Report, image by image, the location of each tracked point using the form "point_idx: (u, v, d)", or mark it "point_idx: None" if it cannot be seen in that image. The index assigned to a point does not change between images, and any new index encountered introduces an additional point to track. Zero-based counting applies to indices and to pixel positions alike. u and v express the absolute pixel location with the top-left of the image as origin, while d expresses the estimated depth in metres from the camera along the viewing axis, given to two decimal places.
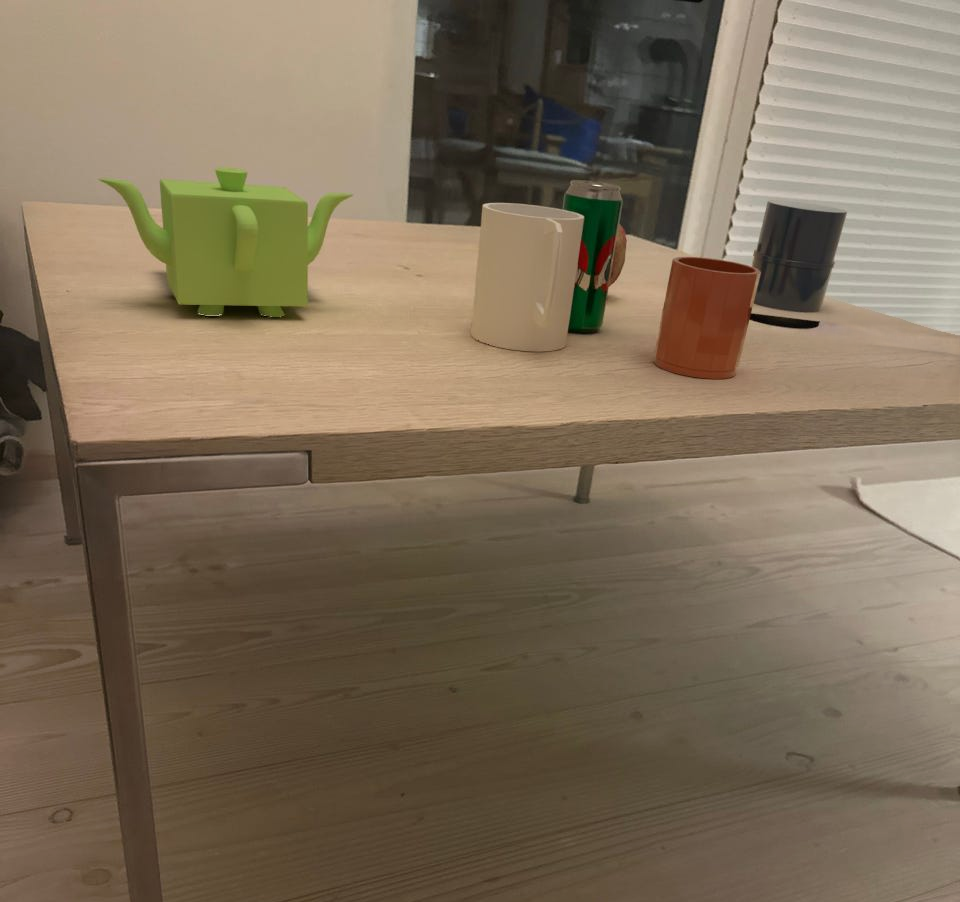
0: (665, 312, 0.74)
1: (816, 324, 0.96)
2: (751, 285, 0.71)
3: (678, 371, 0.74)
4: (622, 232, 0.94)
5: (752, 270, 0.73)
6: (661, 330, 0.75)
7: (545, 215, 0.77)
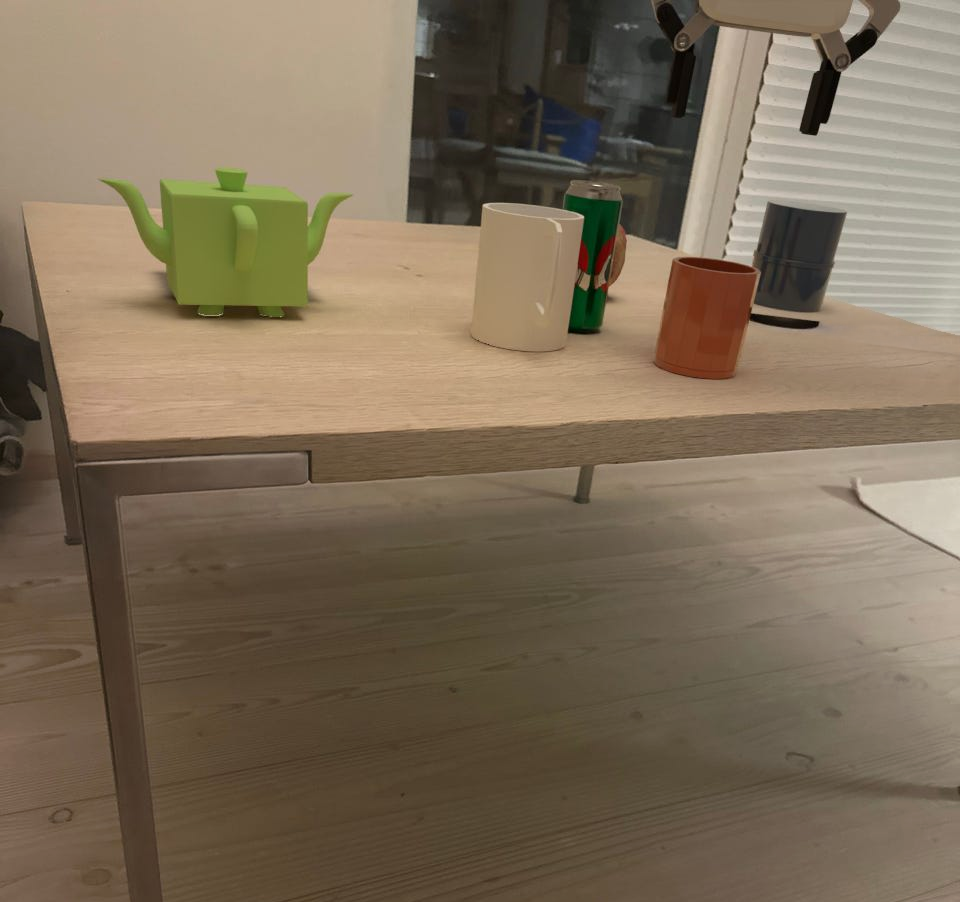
0: (665, 312, 0.74)
1: (816, 324, 0.96)
2: (751, 285, 0.71)
3: (678, 371, 0.74)
4: (622, 232, 0.94)
5: (752, 270, 0.73)
6: (661, 330, 0.75)
7: (545, 215, 0.77)
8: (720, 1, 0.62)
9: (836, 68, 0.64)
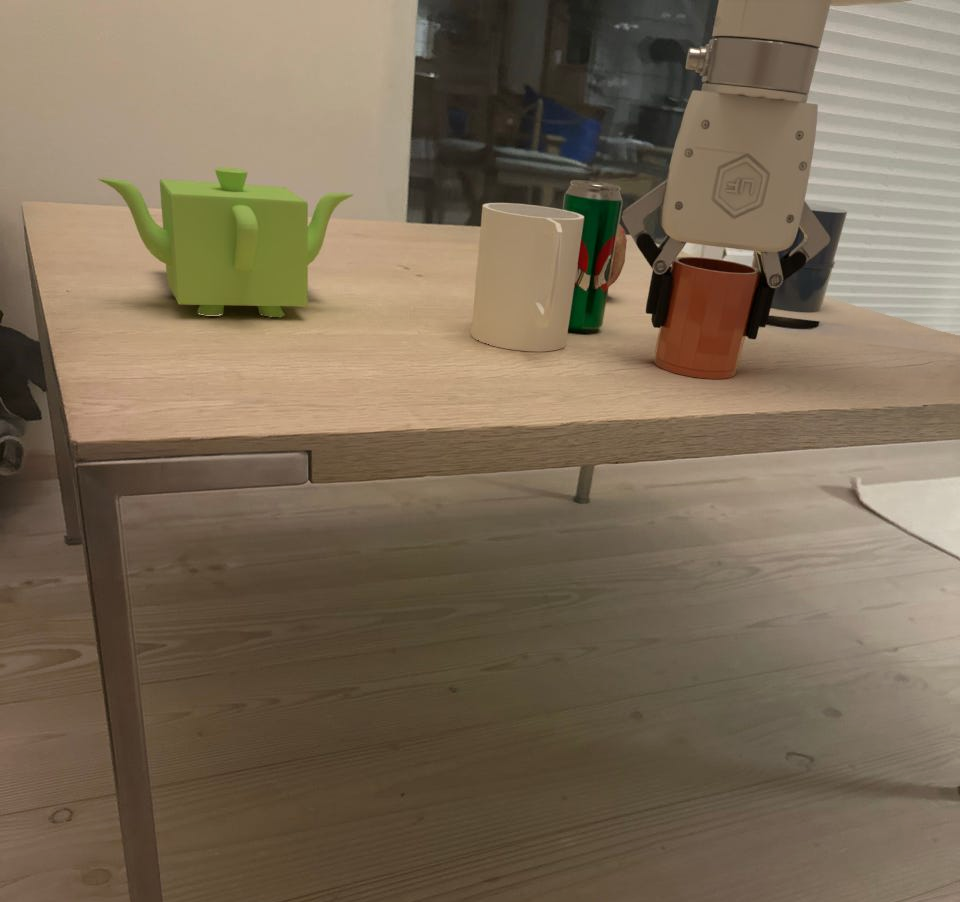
0: None
1: (816, 324, 0.96)
2: (751, 285, 0.71)
3: (678, 371, 0.74)
4: (622, 232, 0.94)
5: (752, 270, 0.73)
6: (661, 330, 0.75)
7: (545, 215, 0.77)
8: (680, 226, 0.69)
9: (770, 285, 0.72)
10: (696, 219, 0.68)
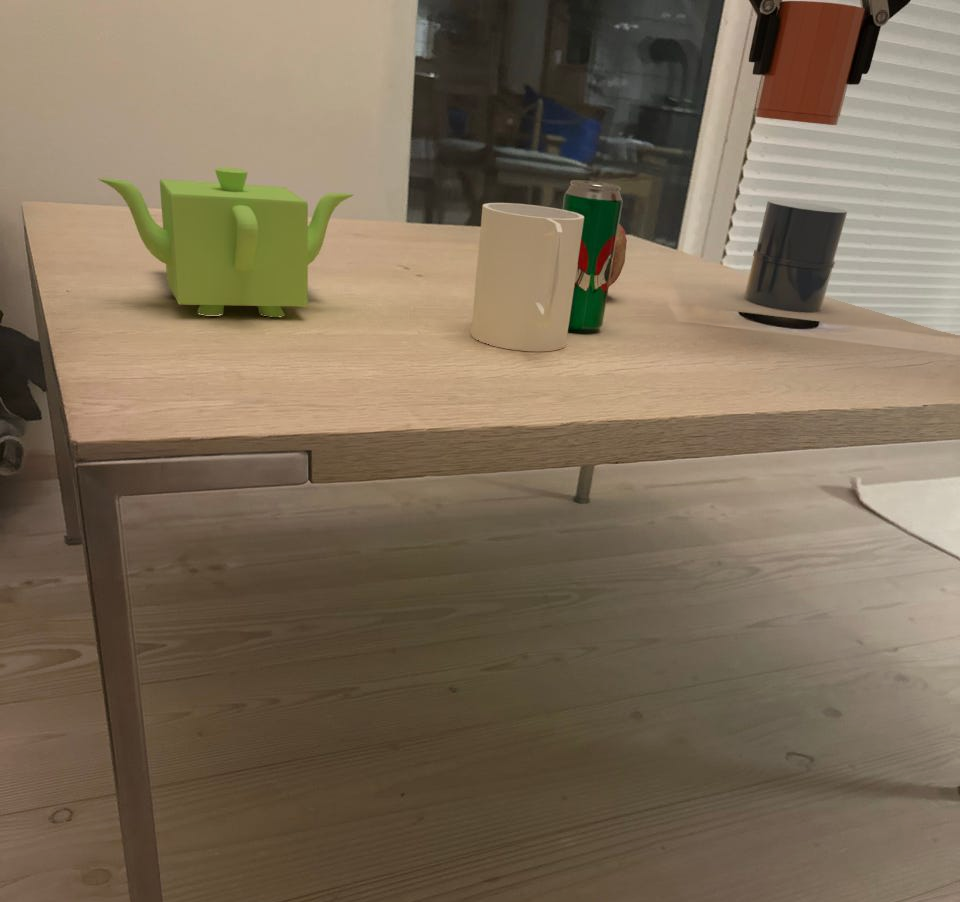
0: None
1: (816, 324, 0.96)
2: (858, 20, 0.72)
3: (783, 117, 0.75)
4: (622, 232, 0.94)
5: None
6: (765, 79, 0.76)
7: (545, 215, 0.77)
8: None
9: (876, 23, 0.73)
10: None
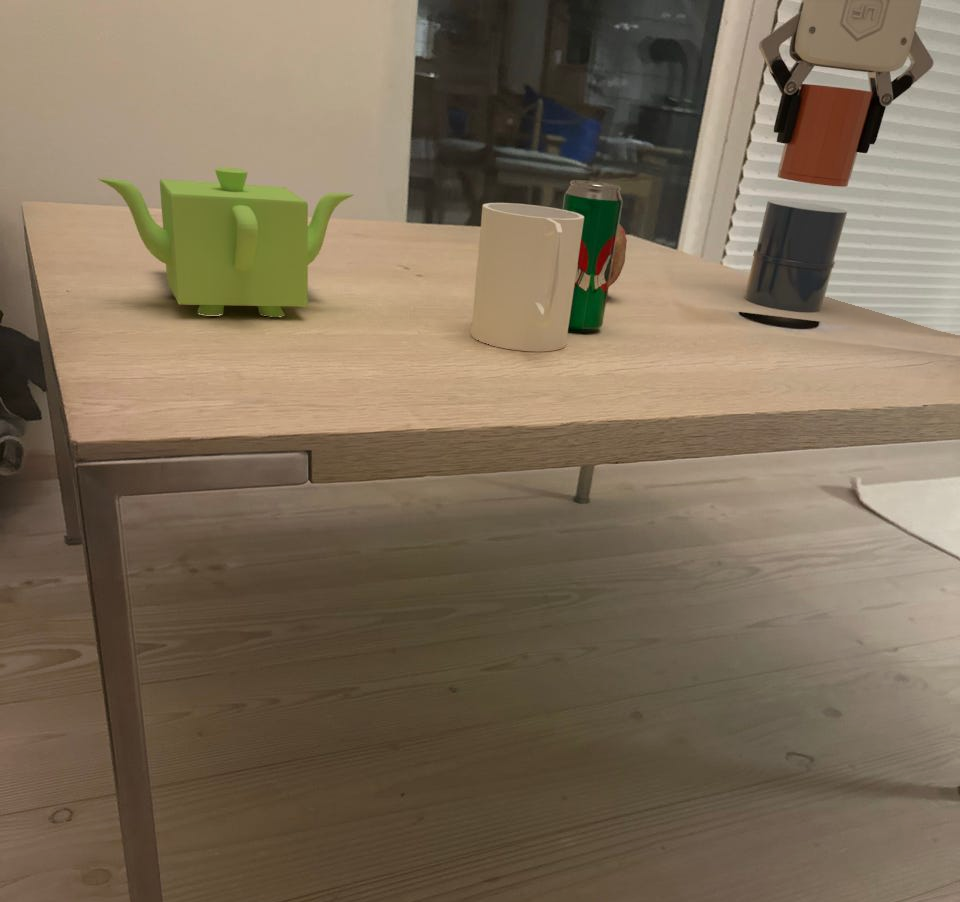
0: None
1: (816, 324, 0.96)
2: (867, 102, 0.86)
3: (802, 179, 0.89)
4: (622, 232, 0.94)
5: None
6: (787, 146, 0.89)
7: (545, 215, 0.77)
8: (812, 48, 0.84)
9: (882, 104, 0.87)
10: (826, 42, 0.83)
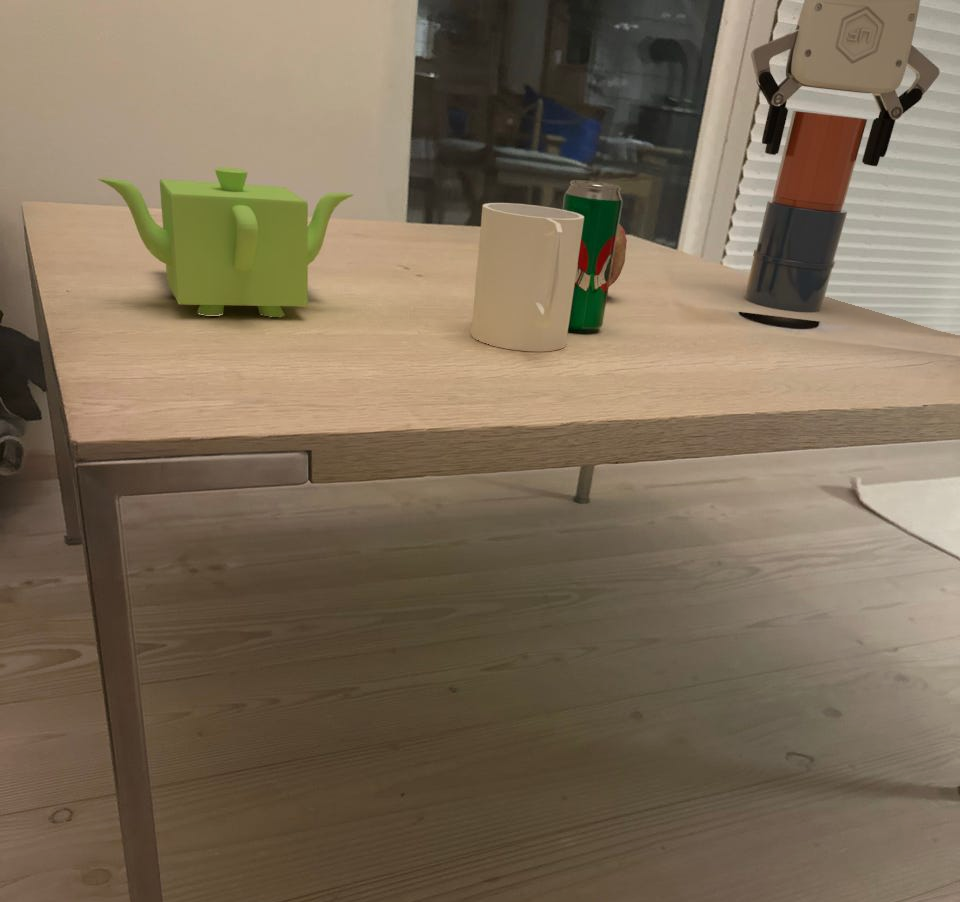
0: (786, 156, 0.90)
1: (816, 324, 0.96)
2: (860, 129, 0.87)
3: (796, 205, 0.90)
4: (622, 232, 0.94)
5: None
6: (781, 172, 0.91)
7: (545, 215, 0.77)
8: (808, 71, 0.84)
9: (892, 117, 0.87)
10: (821, 64, 0.84)
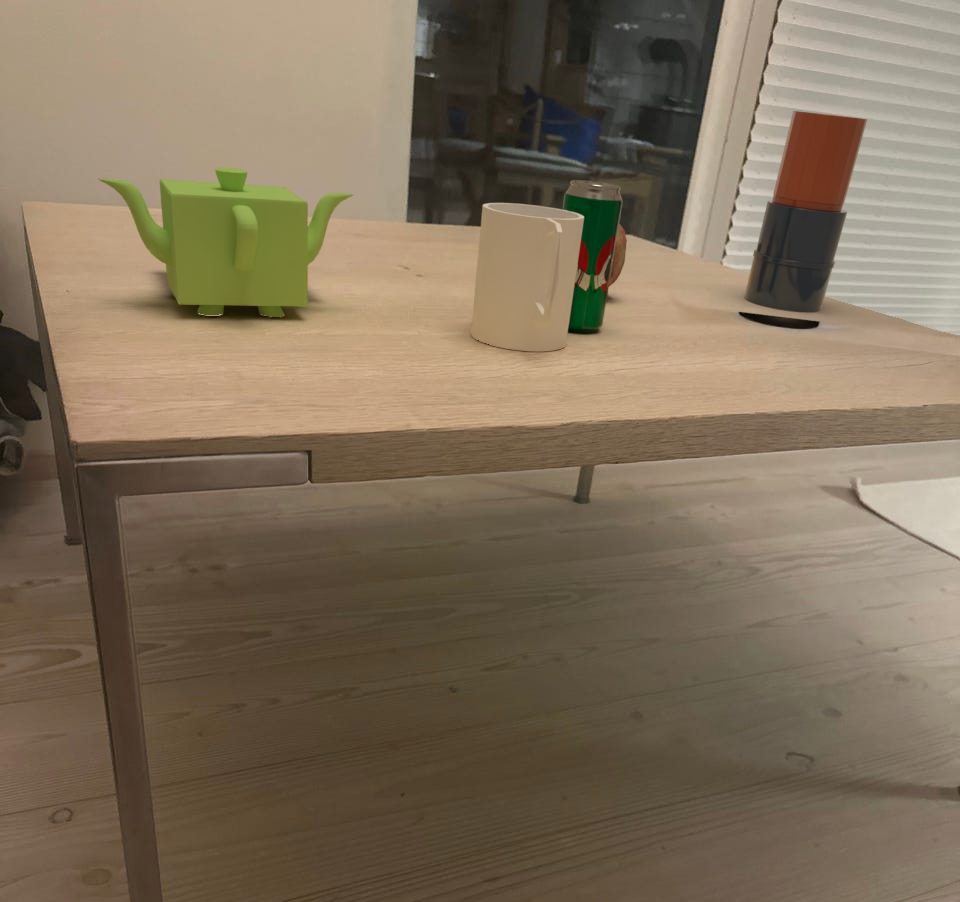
0: (786, 156, 0.90)
1: (816, 324, 0.96)
2: (860, 129, 0.87)
3: (796, 205, 0.90)
4: (622, 232, 0.94)
5: None
6: (781, 172, 0.91)
7: (545, 215, 0.77)
8: None
9: None
10: None
